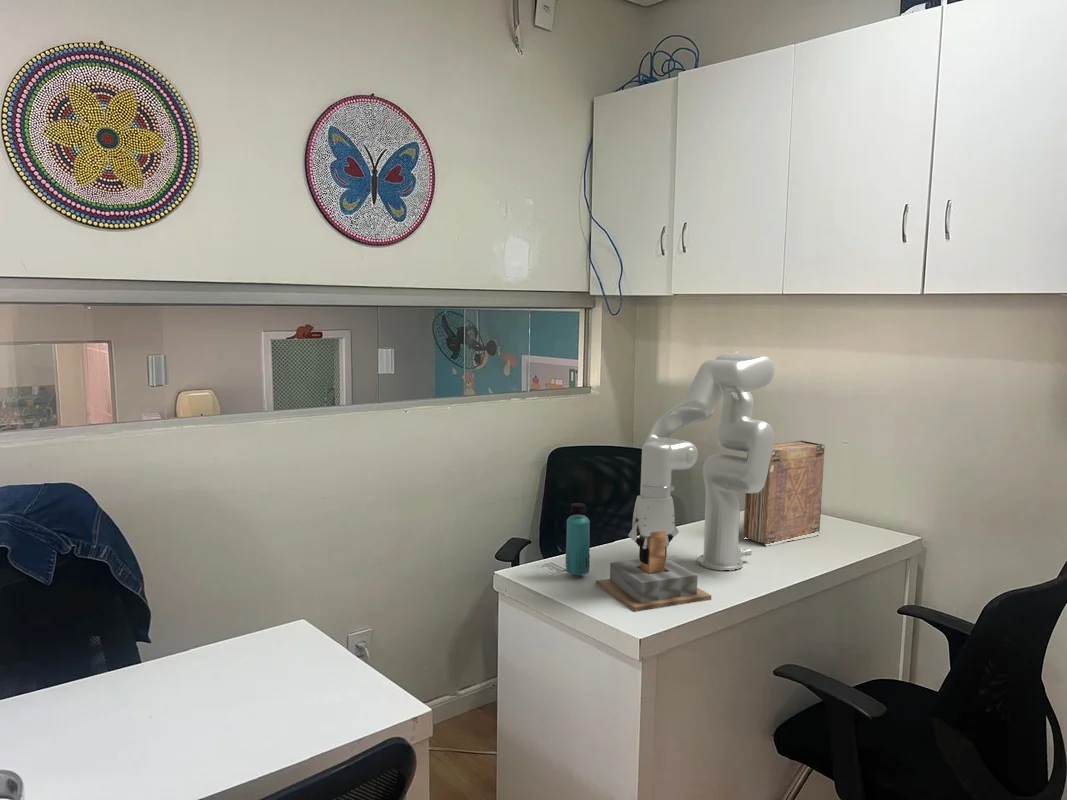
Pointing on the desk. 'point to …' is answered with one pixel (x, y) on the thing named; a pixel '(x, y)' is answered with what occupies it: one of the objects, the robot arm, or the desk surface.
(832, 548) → the desk surface
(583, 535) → the beverage bottle
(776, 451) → the book
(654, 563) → the peg
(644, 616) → the desk surface
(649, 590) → the socket board
